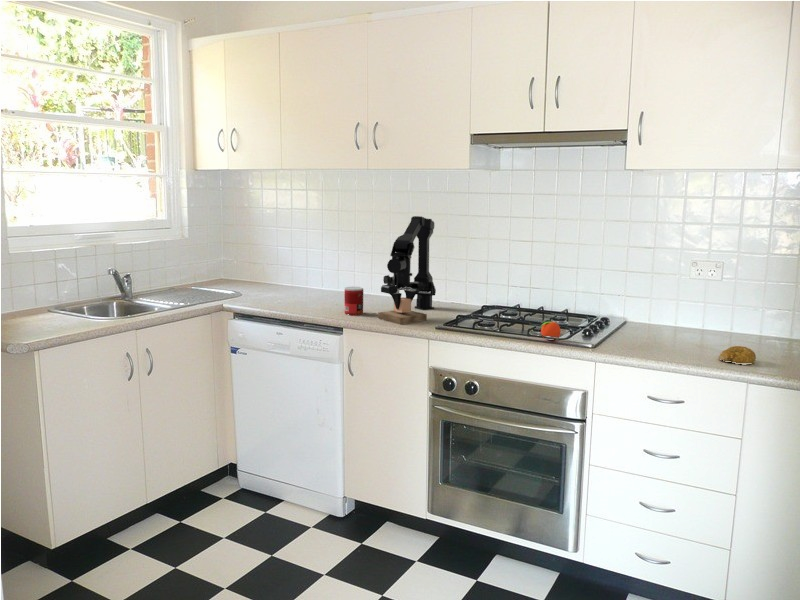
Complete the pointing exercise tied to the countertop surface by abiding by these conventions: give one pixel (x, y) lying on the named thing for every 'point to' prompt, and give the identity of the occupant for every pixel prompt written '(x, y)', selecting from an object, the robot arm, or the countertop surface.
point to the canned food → (353, 300)
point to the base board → (402, 316)
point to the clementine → (550, 329)
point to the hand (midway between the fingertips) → (402, 308)
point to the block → (404, 305)
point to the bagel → (738, 355)
